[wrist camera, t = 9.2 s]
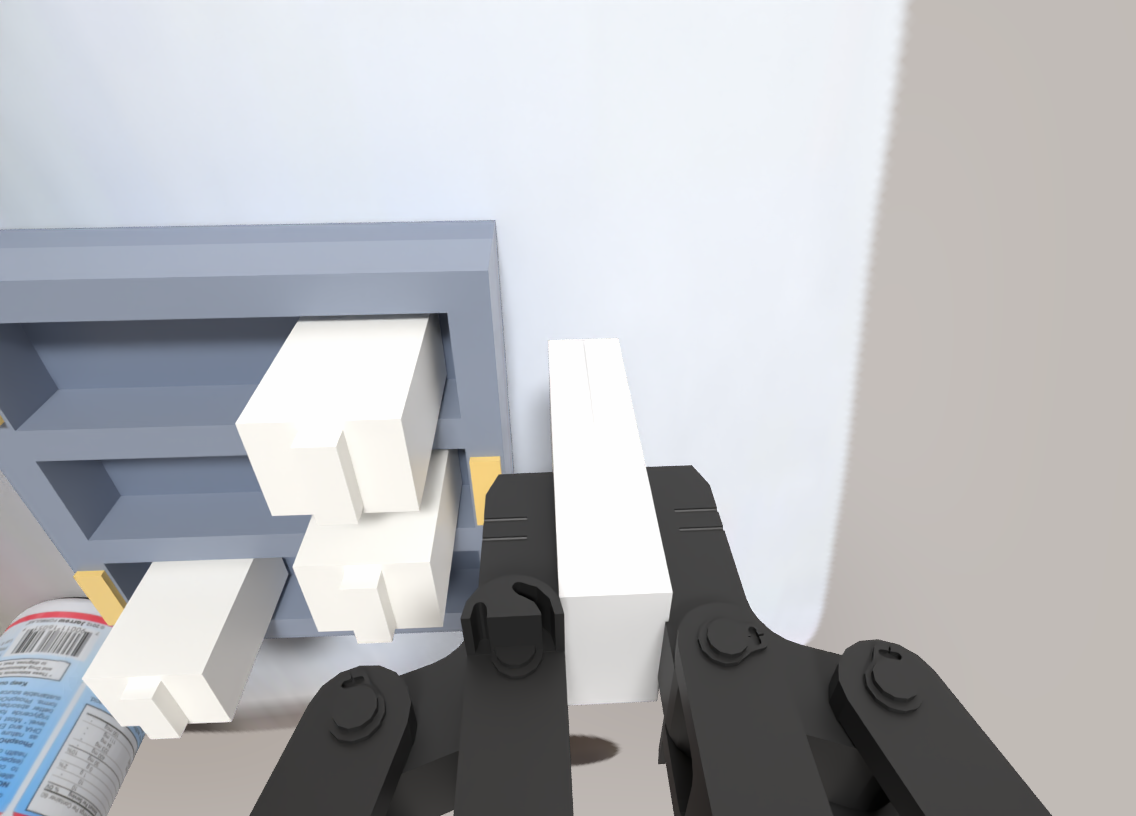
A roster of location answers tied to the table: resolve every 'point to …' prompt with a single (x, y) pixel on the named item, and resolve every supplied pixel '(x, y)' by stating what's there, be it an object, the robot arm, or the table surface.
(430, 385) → the tab
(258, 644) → the tab
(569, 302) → the table surface
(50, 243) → the switch bank
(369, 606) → the tab
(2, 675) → the pill bottle
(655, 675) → the robot arm
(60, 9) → the table surface
